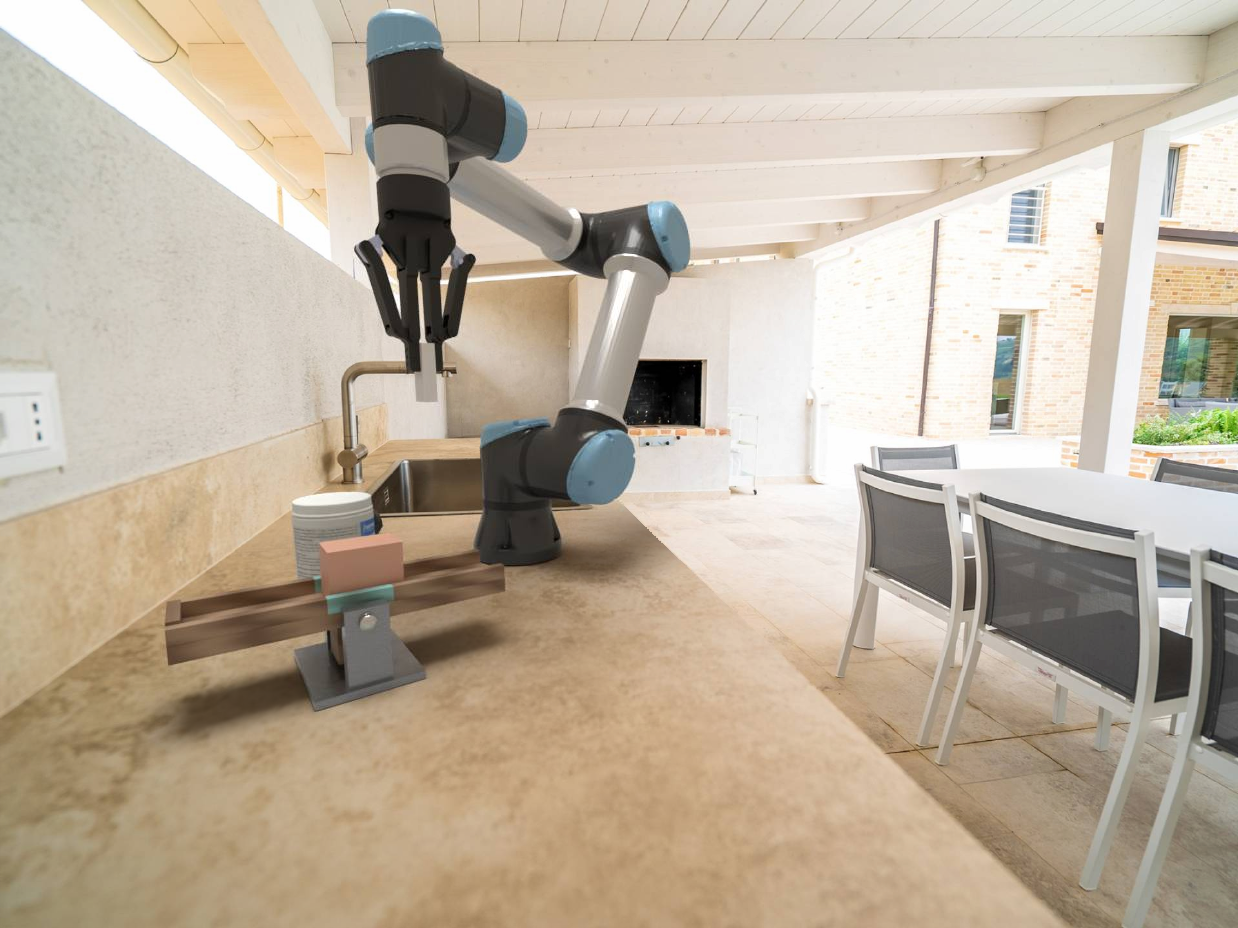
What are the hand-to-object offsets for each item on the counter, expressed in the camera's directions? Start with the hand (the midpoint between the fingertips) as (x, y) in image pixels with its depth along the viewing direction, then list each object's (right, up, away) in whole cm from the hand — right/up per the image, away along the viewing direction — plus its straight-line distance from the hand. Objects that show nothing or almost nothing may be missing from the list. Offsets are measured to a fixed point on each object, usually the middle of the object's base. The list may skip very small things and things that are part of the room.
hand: (426, 401), depth 66 cm
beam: (-5, -27, -6) cm, 28 cm away
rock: (-29, -22, +42) cm, 56 cm away
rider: (-4, -21, -6) cm, 22 cm away
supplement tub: (-15, -26, +11) cm, 32 cm away
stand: (-5, -28, -6) cm, 29 cm away
